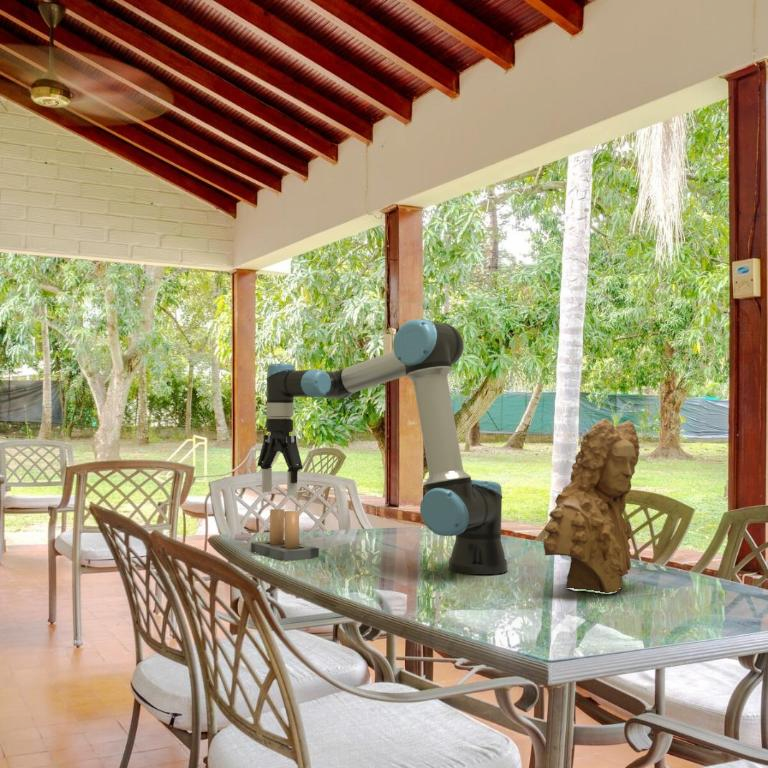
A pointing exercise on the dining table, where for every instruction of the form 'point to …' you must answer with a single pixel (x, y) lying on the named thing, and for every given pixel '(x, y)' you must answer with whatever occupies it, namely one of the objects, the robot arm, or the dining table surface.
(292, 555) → the housing
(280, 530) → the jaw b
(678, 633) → the dining table surface
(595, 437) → the bust
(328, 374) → the robot arm
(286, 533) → the tan wooden cylinder
